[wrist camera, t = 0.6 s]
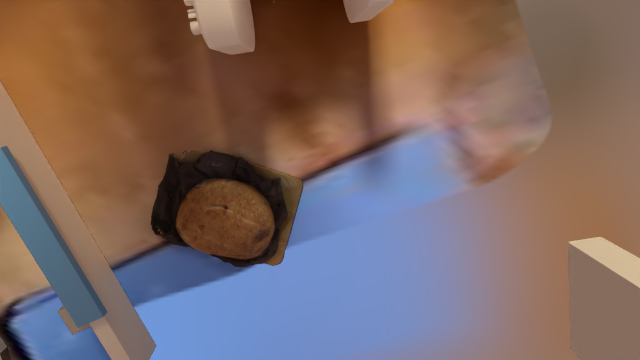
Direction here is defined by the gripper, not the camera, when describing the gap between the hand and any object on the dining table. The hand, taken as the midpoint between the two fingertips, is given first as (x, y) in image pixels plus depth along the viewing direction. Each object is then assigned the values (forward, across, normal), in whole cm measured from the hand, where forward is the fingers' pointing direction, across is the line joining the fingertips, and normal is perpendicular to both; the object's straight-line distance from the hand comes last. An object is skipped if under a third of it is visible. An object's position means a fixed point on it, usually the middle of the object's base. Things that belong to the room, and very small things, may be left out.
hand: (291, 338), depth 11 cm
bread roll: (+26, -6, -4) cm, 27 cm away
